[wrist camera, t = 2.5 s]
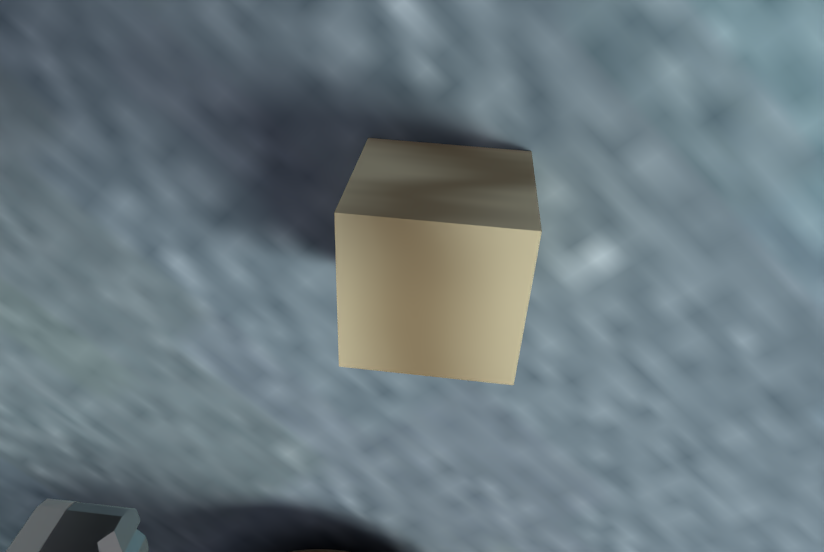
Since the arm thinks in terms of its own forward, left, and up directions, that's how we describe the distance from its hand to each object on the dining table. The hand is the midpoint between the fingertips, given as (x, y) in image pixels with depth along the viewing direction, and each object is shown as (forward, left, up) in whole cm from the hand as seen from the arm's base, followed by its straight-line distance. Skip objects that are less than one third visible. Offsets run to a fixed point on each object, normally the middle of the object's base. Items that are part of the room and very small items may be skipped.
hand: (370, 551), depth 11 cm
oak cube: (0, 0, -12) cm, 12 cm away
